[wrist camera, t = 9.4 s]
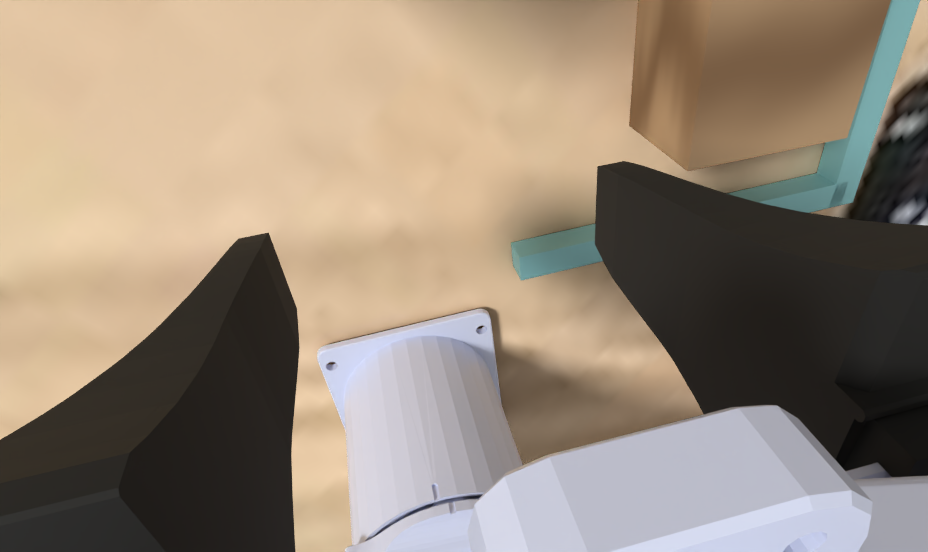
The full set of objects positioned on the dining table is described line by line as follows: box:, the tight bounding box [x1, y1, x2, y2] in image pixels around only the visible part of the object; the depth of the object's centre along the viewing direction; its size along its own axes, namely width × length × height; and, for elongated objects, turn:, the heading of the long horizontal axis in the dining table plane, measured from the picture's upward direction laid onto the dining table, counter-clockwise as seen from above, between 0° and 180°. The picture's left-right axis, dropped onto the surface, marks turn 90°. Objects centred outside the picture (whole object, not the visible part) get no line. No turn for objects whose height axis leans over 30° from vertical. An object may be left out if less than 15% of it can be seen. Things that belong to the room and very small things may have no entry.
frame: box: [511, 0, 920, 280], centre depth 20 cm, size 16×16×1 cm
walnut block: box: [629, 0, 891, 171], centre depth 19 cm, size 6×6×4 cm
